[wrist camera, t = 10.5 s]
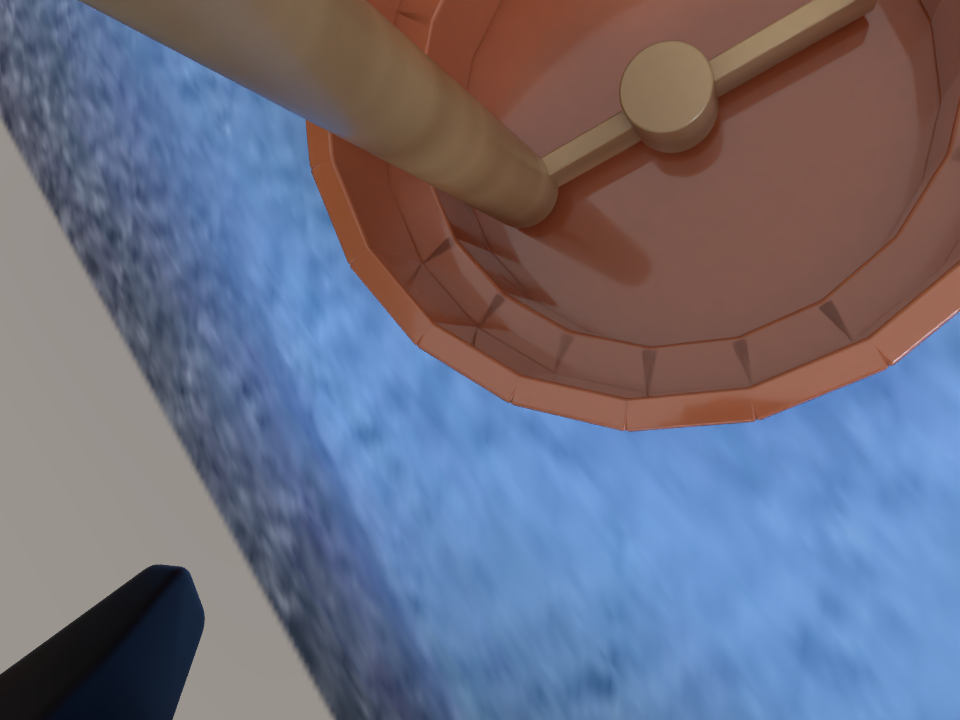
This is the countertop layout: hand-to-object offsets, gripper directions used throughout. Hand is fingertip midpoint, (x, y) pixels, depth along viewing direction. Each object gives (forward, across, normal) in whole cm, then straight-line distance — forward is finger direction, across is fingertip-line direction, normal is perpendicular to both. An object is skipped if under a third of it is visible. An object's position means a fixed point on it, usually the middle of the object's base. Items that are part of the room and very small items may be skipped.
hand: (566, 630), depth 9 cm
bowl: (+15, -2, -1) cm, 15 cm away
